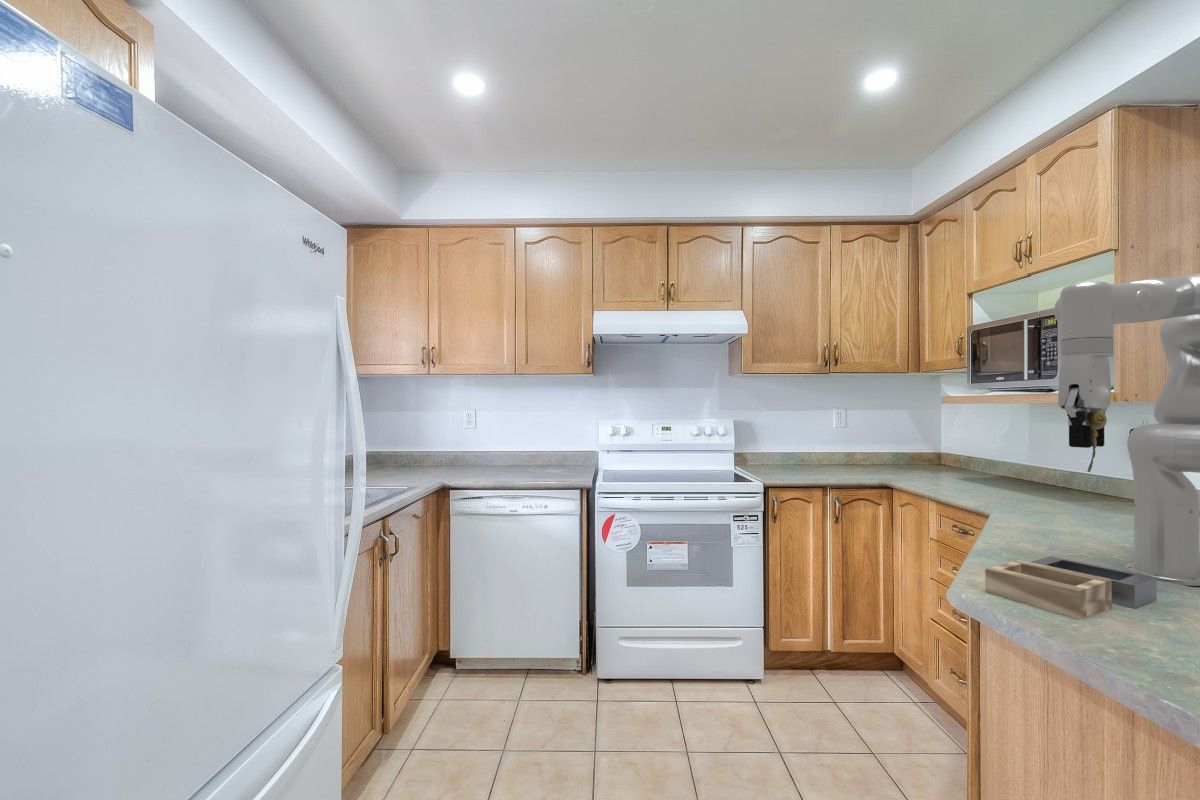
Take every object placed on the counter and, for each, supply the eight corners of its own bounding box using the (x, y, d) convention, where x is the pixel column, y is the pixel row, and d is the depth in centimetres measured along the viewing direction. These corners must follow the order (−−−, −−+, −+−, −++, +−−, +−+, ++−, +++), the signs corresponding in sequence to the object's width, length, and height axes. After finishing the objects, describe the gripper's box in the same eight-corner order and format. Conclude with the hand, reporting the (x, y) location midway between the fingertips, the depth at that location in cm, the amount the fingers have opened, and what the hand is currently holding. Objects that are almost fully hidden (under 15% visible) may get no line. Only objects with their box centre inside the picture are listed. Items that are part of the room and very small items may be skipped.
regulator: (1112, 474, 102) (1113, 391, 102) (1087, 473, 103) (1088, 390, 103) (1086, 470, 109) (1087, 392, 110) (1062, 469, 110) (1063, 392, 110)
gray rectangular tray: (1050, 575, 116) (1050, 556, 116) (1156, 599, 102) (1156, 577, 102) (1027, 583, 111) (1027, 562, 111) (1134, 609, 97) (1134, 585, 97)
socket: (1019, 585, 109) (1018, 559, 109) (1111, 608, 97) (1111, 579, 97) (985, 596, 103) (985, 568, 103) (1079, 622, 91) (1079, 591, 91)
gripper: (1082, 352, 114) (1082, 443, 114) (1040, 349, 105) (1041, 447, 105) (1131, 349, 107) (1131, 446, 107) (1090, 345, 99) (1091, 450, 99)
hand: (1086, 445), depth 106 cm, fingers closed on regulator, 4 cm apart
